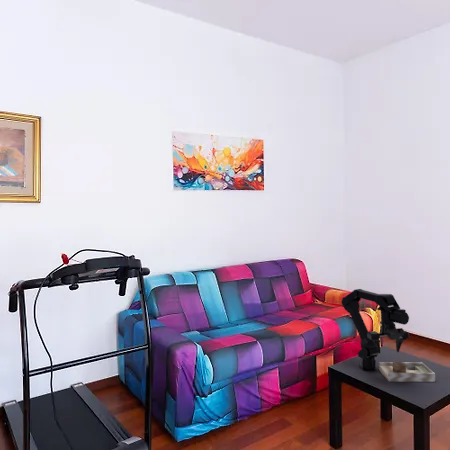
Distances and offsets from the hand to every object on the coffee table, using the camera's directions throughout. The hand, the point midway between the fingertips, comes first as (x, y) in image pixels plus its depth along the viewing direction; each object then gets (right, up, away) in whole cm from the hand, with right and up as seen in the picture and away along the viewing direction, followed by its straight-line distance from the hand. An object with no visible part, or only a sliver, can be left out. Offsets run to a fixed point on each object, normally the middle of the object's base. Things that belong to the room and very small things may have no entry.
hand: (388, 352), depth 195 cm
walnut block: (+6, -10, +1) cm, 12 cm away
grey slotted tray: (+10, -13, +4) cm, 16 cm away
